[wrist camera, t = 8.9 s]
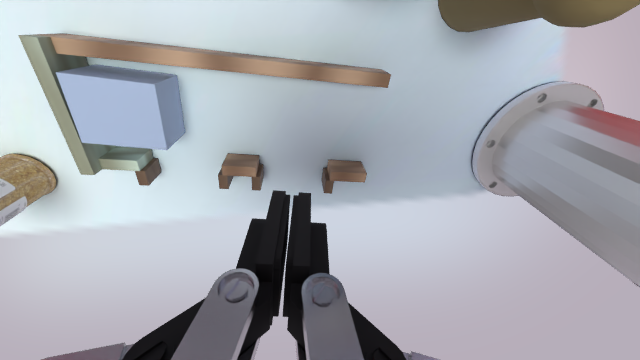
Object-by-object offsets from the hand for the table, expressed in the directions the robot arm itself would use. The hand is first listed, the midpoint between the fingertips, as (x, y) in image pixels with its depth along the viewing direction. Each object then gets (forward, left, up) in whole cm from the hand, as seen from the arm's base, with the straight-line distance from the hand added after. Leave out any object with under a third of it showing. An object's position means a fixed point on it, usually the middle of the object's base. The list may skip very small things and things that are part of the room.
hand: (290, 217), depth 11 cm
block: (+13, -1, -14) cm, 19 cm away
